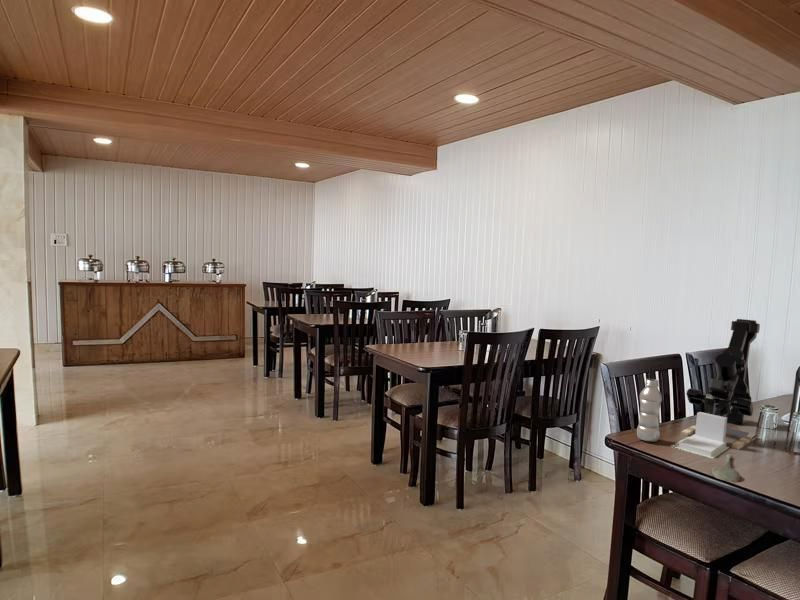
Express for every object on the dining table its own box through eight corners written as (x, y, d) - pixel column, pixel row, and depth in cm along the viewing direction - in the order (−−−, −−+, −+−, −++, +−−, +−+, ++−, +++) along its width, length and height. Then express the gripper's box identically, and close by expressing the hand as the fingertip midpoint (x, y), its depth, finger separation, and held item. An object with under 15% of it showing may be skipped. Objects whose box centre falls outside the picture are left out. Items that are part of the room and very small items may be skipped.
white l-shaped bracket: (695, 437, 170) (697, 411, 170) (726, 445, 164) (729, 418, 163) (678, 447, 159) (681, 419, 159) (710, 456, 153) (713, 427, 152)
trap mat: (705, 423, 189) (705, 422, 189) (756, 435, 177) (756, 434, 177) (699, 426, 184) (699, 425, 184) (751, 439, 172) (751, 438, 172)
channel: (695, 427, 183) (695, 424, 183) (751, 441, 170) (751, 437, 170) (680, 434, 173) (681, 431, 173) (738, 450, 161) (739, 446, 161)
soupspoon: (709, 481, 138) (738, 489, 134) (711, 469, 138) (740, 477, 134) (717, 455, 156) (742, 462, 152) (718, 445, 155) (744, 451, 151)
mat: (688, 437, 171) (688, 436, 171) (729, 447, 162) (729, 447, 162) (670, 447, 161) (670, 446, 161) (712, 459, 152) (712, 458, 152)
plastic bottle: (662, 444, 162) (668, 383, 161) (641, 443, 163) (646, 381, 161) (653, 437, 169) (658, 378, 167) (632, 436, 169) (637, 377, 168)
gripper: (690, 365, 177) (676, 400, 170) (754, 375, 163) (741, 415, 156) (696, 384, 182) (682, 420, 176) (758, 396, 169) (745, 435, 162)
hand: (711, 422), depth 167 cm, fingers closed
